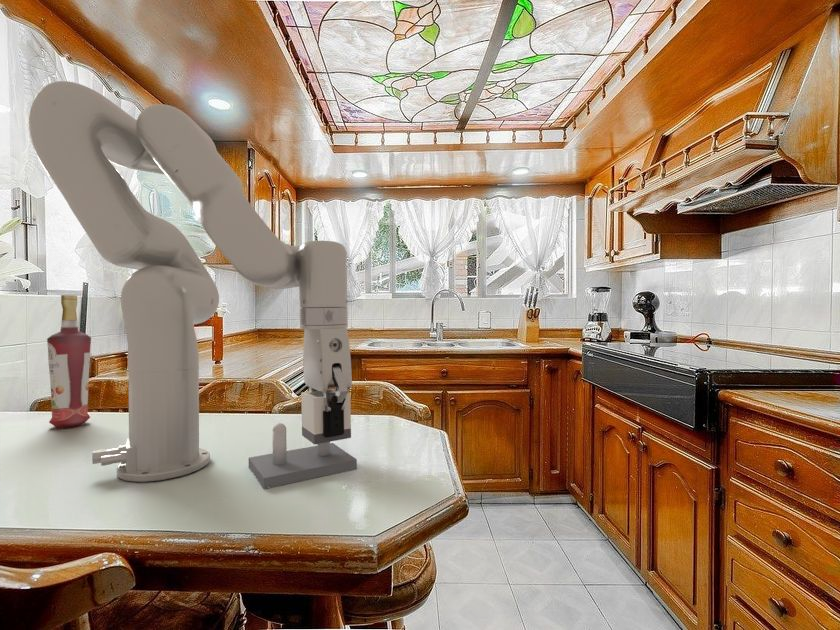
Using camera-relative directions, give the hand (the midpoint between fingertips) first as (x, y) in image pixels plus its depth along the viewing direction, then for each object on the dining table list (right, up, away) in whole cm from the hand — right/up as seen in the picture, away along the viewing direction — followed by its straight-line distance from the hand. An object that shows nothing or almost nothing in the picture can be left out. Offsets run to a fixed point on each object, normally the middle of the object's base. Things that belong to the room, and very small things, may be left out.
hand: (325, 429), depth 70 cm
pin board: (-3, -5, -2) cm, 7 cm away
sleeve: (0, -1, 0) cm, 1 cm away
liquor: (-60, -5, +23) cm, 65 cm away
